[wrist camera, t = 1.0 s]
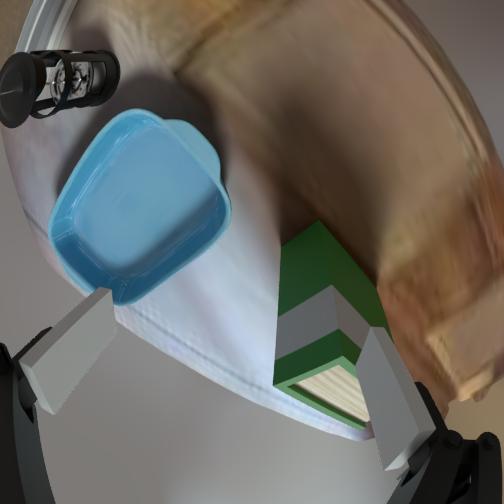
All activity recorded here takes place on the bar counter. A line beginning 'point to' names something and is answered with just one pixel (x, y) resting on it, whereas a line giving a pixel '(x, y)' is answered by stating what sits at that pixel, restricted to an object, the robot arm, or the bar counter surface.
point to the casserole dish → (139, 206)
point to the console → (45, 26)
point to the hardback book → (324, 325)
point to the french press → (52, 82)
